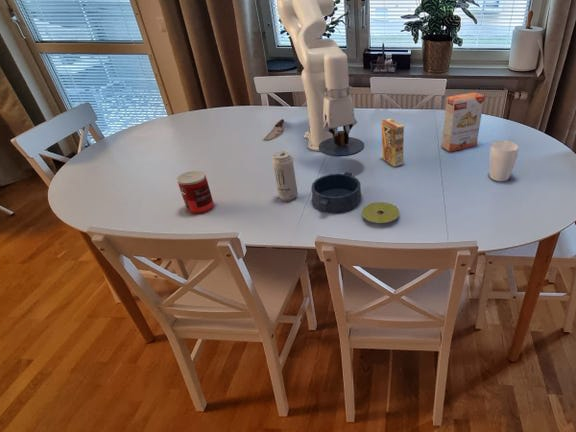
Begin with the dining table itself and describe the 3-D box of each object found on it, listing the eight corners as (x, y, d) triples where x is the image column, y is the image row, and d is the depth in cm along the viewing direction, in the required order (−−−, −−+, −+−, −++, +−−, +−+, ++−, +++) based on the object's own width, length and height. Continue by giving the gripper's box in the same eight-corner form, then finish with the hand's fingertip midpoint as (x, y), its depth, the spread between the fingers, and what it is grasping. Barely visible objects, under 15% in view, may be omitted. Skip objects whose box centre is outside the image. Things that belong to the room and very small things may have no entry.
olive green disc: (368, 204, 124) (368, 199, 123) (403, 210, 121) (403, 204, 120) (356, 224, 115) (356, 218, 114) (393, 230, 112) (393, 225, 111)
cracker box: (449, 153, 155) (455, 100, 143) (441, 147, 160) (445, 96, 148) (477, 146, 160) (485, 95, 149) (468, 141, 165) (475, 91, 153)
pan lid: (310, 154, 136) (308, 137, 133) (330, 137, 149) (329, 121, 146) (354, 161, 132) (353, 143, 128) (370, 142, 145) (370, 126, 141)
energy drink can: (275, 199, 126) (267, 157, 118) (286, 190, 131) (279, 149, 122) (291, 203, 124) (284, 160, 116) (301, 194, 129) (295, 152, 120)
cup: (513, 173, 141) (519, 142, 134) (511, 185, 134) (518, 152, 127) (487, 169, 143) (492, 138, 137) (484, 180, 136) (489, 149, 130)
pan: (300, 212, 120) (298, 197, 117) (329, 181, 136) (327, 167, 133) (346, 221, 116) (345, 205, 113) (370, 188, 132) (370, 173, 129)
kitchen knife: (273, 139, 165) (262, 137, 165) (273, 143, 166) (262, 140, 166) (291, 120, 182) (281, 118, 182) (291, 123, 183) (281, 121, 183)
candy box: (403, 164, 147) (404, 125, 138) (394, 167, 145) (395, 128, 136) (390, 156, 153) (390, 118, 144) (381, 158, 151) (381, 120, 142)
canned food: (191, 201, 125) (181, 171, 119) (217, 200, 126) (208, 170, 119) (183, 215, 119) (172, 183, 113) (210, 213, 119) (201, 182, 113)
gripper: (354, 85, 135) (356, 136, 146) (310, 93, 128) (316, 145, 139) (364, 91, 130) (366, 142, 140) (319, 99, 123) (324, 153, 133)
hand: (341, 143), depth 139 cm, fingers closed on pan lid, 2 cm apart
